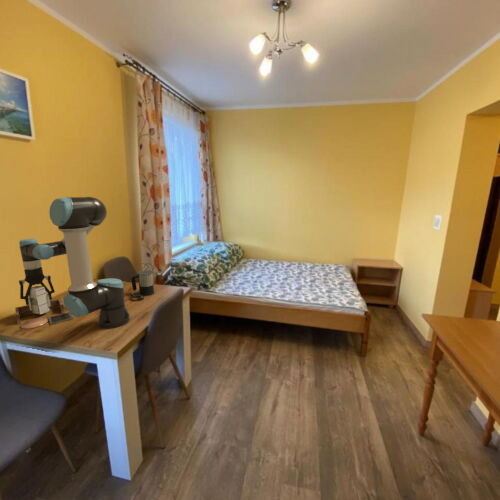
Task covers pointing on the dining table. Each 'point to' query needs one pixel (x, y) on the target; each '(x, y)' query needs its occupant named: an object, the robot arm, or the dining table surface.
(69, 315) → the drain grate
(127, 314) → the robot arm
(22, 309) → the walnut bay
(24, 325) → the terracotta coaster
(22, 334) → the dining table surface
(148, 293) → the milk frother
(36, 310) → the syrup box
